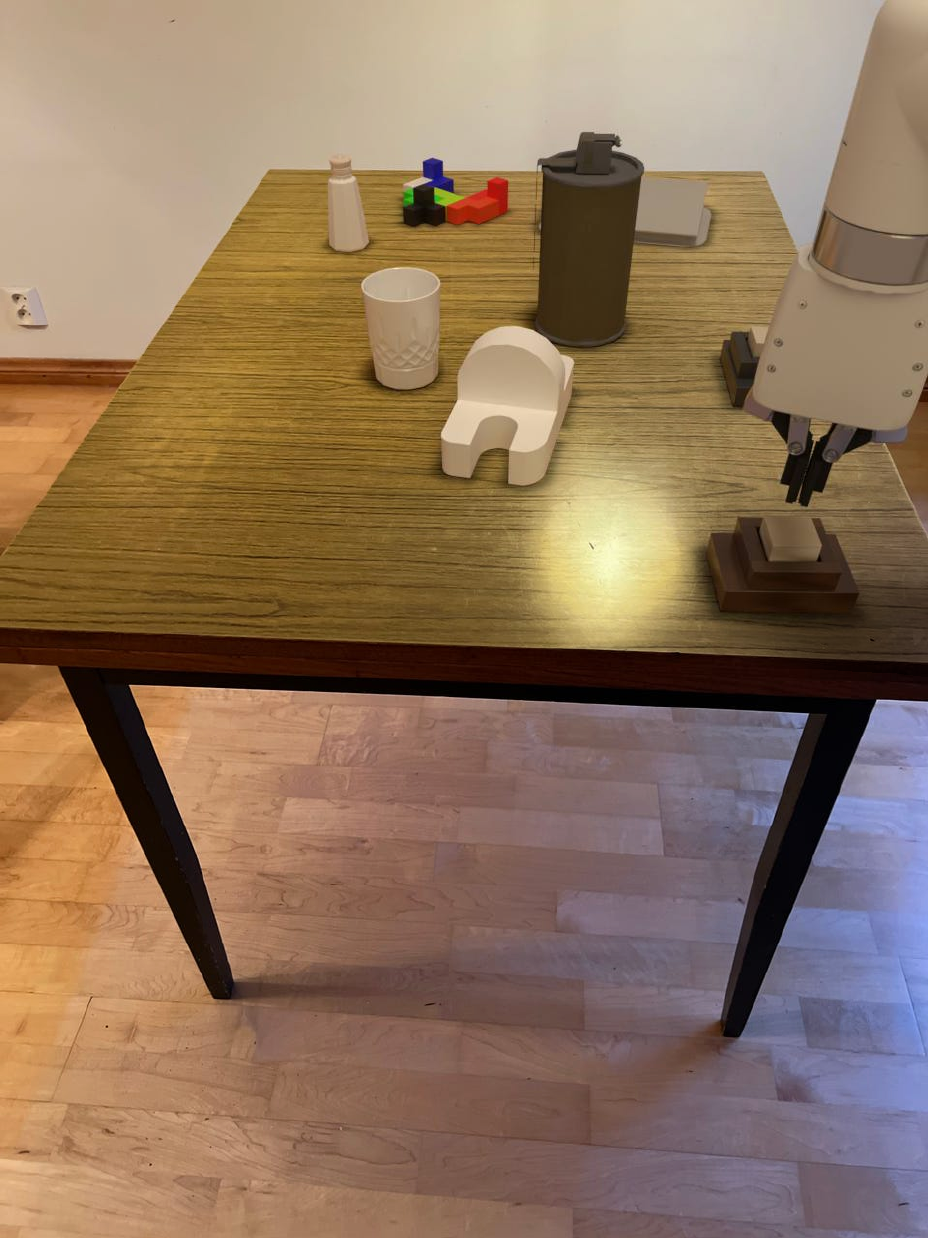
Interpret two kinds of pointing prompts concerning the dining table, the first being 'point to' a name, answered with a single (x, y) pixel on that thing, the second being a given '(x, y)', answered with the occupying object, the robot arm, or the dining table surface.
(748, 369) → the far block
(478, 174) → the dining table surface
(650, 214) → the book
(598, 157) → the canister
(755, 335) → the far key
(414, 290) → the white cup
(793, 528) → the near key
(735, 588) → the near block
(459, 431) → the slotted bracket
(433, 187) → the building blocks
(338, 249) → the salt shaker
